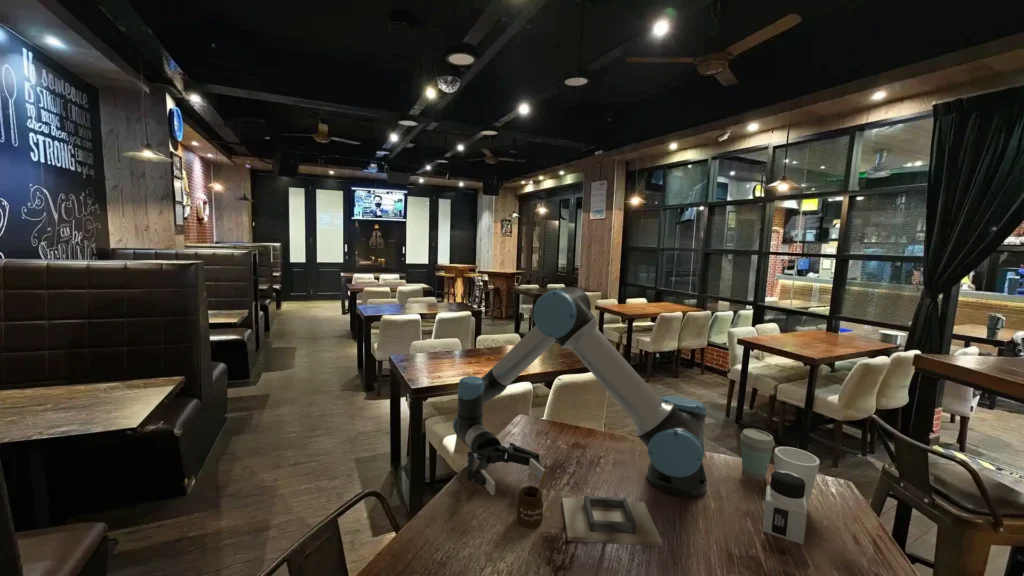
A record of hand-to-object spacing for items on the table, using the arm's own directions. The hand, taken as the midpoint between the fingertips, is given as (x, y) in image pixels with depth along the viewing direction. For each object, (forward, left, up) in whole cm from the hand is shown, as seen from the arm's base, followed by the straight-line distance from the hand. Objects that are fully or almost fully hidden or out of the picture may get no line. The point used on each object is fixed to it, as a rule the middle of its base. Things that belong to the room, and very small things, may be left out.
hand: (519, 482), depth 101 cm
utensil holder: (-3, +4, -7) cm, 8 cm away
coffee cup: (-67, -22, -7) cm, 71 cm away
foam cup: (-69, -8, -7) cm, 70 cm away
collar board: (-21, +3, -7) cm, 22 cm away
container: (-61, +2, -7) cm, 61 cm away
